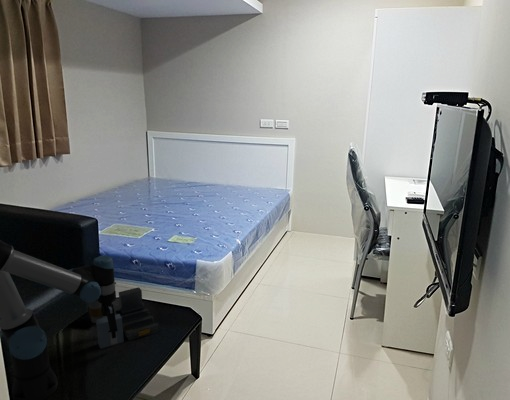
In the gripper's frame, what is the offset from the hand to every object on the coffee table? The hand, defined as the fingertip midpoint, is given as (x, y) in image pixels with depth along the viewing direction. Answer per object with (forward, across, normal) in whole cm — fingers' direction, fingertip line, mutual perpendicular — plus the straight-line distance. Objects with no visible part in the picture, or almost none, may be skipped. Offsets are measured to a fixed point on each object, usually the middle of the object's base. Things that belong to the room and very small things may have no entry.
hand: (110, 336), depth 183 cm
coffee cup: (+4, +22, +1) cm, 22 cm away
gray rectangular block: (+4, 0, 0) cm, 4 cm away
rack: (+3, +10, -14) cm, 18 cm away
